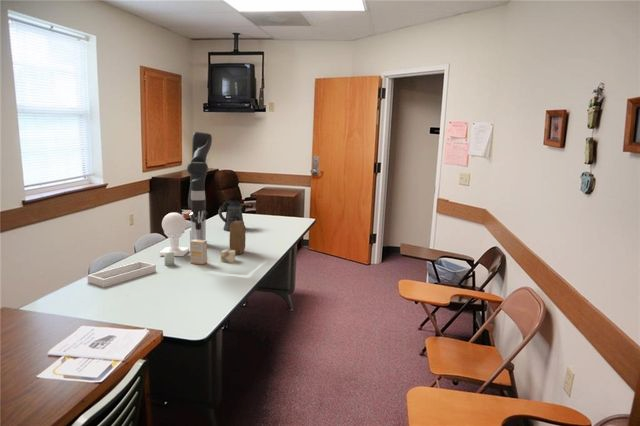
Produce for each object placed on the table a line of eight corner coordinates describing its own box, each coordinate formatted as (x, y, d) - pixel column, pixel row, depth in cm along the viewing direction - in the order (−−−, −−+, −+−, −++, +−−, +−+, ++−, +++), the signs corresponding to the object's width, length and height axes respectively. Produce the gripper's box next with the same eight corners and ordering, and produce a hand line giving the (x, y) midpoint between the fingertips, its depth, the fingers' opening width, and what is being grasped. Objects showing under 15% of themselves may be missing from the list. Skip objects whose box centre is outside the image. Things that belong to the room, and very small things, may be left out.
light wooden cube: (221, 261, 236) (221, 251, 235) (225, 259, 242) (225, 249, 241) (230, 262, 235) (230, 252, 234) (235, 260, 240) (235, 250, 239)
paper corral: (87, 282, 195) (87, 275, 194) (140, 267, 220) (140, 261, 219) (103, 287, 189) (103, 279, 188) (155, 271, 214) (155, 264, 214)
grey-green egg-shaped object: (162, 264, 226) (162, 252, 225) (169, 262, 230) (169, 250, 229) (169, 266, 224) (168, 253, 223) (176, 264, 228) (176, 251, 227)
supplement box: (207, 263, 232) (207, 240, 230) (202, 265, 228) (202, 242, 226) (195, 261, 235) (195, 238, 233) (190, 263, 231) (189, 240, 228)
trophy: (166, 250, 256) (165, 210, 252) (189, 250, 257) (188, 211, 253) (159, 256, 242) (158, 214, 238) (183, 256, 243) (182, 214, 239)
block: (239, 255, 250) (239, 223, 247) (228, 254, 252) (228, 222, 249) (247, 251, 260) (247, 220, 257) (236, 250, 262) (236, 219, 259)
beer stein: (249, 231, 317) (250, 199, 313) (231, 236, 301) (231, 202, 297) (234, 228, 326) (234, 197, 322) (215, 232, 310) (215, 199, 306)
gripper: (201, 196, 233) (202, 226, 236) (183, 199, 221) (184, 230, 224) (211, 198, 229) (211, 228, 232) (194, 200, 218) (194, 232, 221)
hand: (198, 229), depth 228 cm, fingers closed
